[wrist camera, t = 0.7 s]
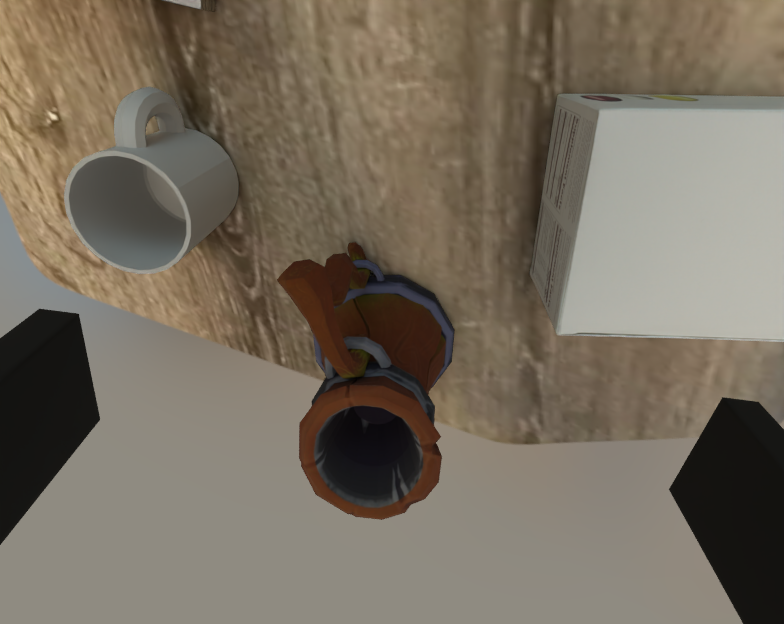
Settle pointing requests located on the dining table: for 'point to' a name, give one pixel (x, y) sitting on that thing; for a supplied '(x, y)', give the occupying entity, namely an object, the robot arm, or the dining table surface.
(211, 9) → the kitchen scale
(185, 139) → the cup
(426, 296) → the mug
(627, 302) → the supplement box
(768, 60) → the dining table surface
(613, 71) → the dining table surface
